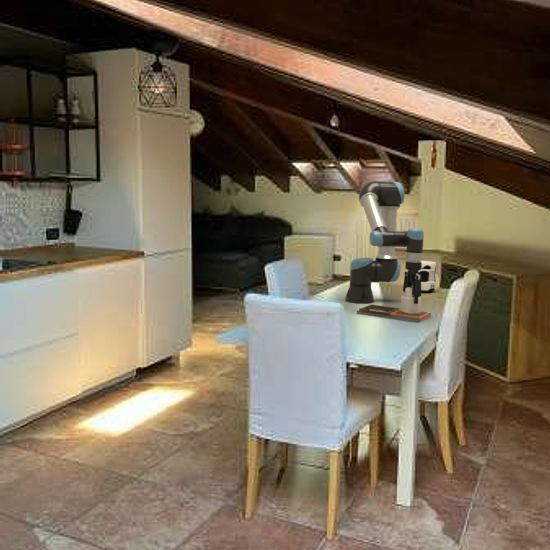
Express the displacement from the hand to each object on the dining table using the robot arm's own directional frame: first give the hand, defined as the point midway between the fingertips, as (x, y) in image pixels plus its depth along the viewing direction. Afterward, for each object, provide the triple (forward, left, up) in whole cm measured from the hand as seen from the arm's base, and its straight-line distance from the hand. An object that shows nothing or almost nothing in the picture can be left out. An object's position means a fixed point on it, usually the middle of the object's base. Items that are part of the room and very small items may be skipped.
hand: (410, 308), depth 291 cm
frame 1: (0, -16, -4) cm, 17 cm away
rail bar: (+9, -8, -4) cm, 13 cm away
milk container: (-80, -22, -4) cm, 83 cm away
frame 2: (0, 0, -4) cm, 4 cm away
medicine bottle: (0, 0, -2) cm, 2 cm away
